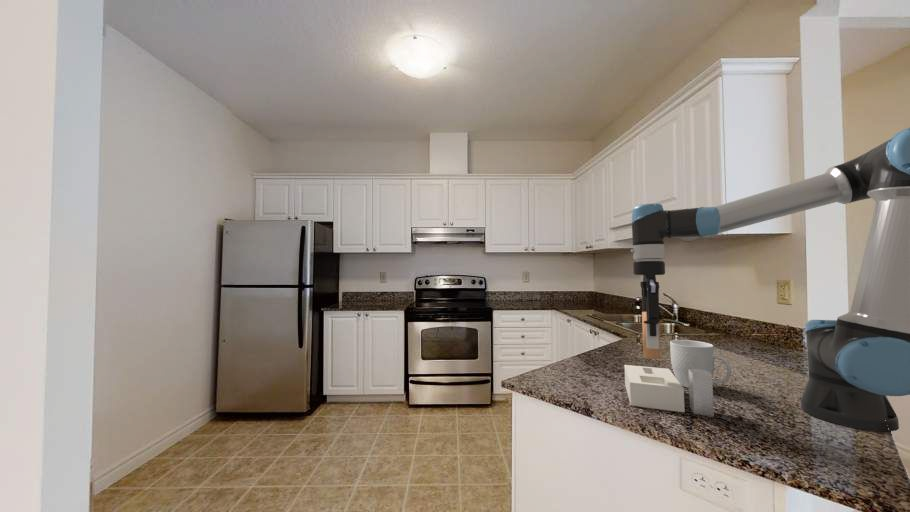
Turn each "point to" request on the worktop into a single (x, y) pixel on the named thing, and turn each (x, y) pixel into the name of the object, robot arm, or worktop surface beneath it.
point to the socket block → (654, 388)
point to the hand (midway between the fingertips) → (651, 346)
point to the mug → (694, 359)
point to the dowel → (646, 351)
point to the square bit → (701, 392)
